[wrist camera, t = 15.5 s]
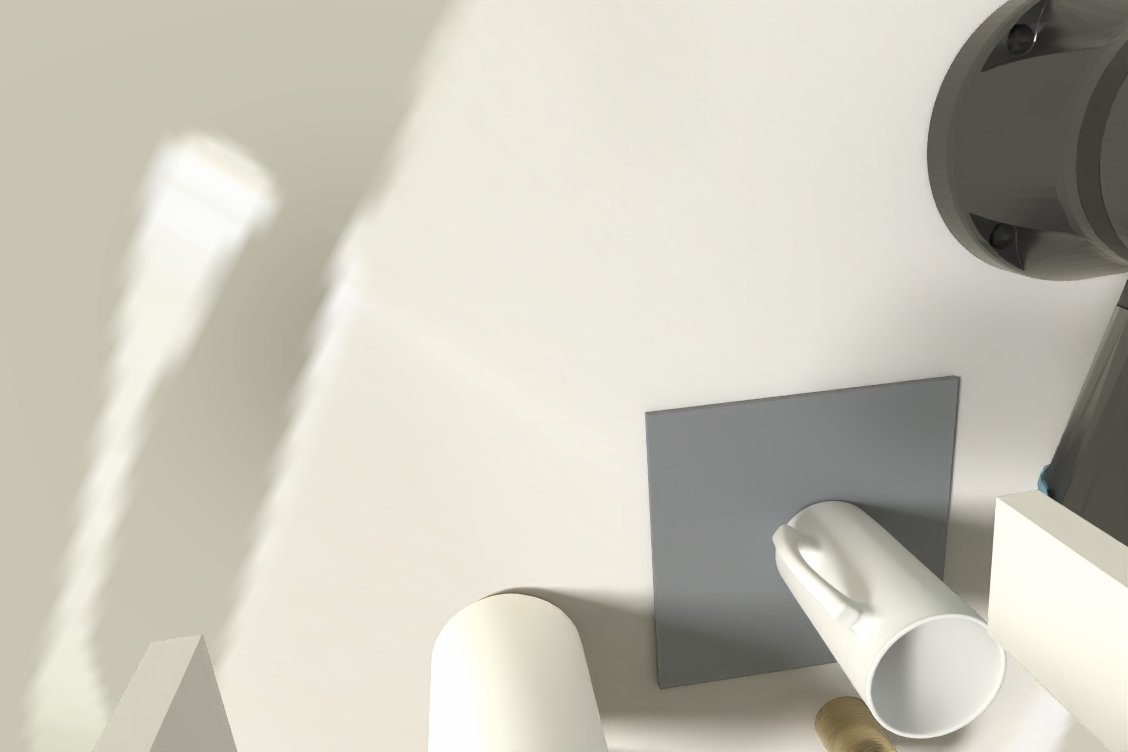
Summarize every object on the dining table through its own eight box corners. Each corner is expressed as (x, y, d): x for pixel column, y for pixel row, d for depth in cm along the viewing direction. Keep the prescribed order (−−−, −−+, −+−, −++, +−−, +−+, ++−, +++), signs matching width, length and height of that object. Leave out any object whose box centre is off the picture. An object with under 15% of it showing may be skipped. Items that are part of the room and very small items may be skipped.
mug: (901, 529, 49) (1036, 655, 38) (830, 614, 50) (940, 759, 39) (776, 447, 46) (881, 555, 35) (704, 538, 48) (784, 672, 36)
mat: (953, 375, 47) (958, 378, 47) (933, 641, 53) (937, 646, 52) (645, 412, 45) (647, 415, 45) (658, 683, 51) (660, 689, 50)
